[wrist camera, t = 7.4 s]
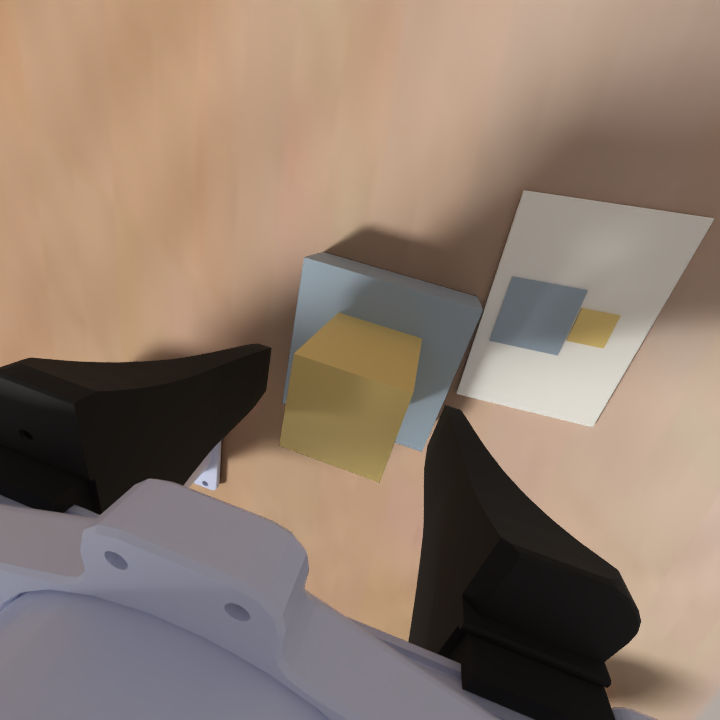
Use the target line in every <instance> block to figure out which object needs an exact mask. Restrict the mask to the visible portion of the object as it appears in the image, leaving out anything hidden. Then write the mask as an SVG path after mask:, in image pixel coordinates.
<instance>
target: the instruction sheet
mask: <svg viewBox="0 0 720 720" xmlns="http://www.w3.org/2000/svg"><path fill="white" fill-rule="evenodd" d="M714 219H715V218H709V217H702V216H696V215H689V214H682V213H675V212H668V211H662V210H655V209H648V208H641V207H635V206H628V205H621V204H614V203H608V202H601V201H594V200H587V199H580V198H574V197H567V196H560V195H553V194H547V193H540V192H533V191H526V190H523V193H522V196H521V199H520V202H519V205H518V208H517V211H516V214H515V217H514V220H513V223H512V226H511V229H510V232H509V235H508V238H507V241H506V244H505V247H504V250H503V253H502V256H501V259H500V262H499V265H498V268H497V271H496V274H495V277H494V280H493V283H492V286H491V289H490V292H489V295H488V298H487V301H486V304H485V307H484V311H483V314H482V317H481V320H480V323H479V326H478V329H477V332H476V335H475V338H474V341H473V344H472V347H471V350H470V353H469V356H468V359H467V362H466V365H465V368H464V371H463V374H462V377H461V380H460V383H459V386H458V389H457V392H456V393H457V394H459V395H463V396H467V397H471V398H475V399H479V400H483V401H487V402H491V403H495V404H499V405H504V406H508V407H512V408H516V409H520V410H524V411H528V412H532V413H536V414H540V415H545V416H549V417H553V418H557V419H561V420H565V421H569V422H573V423H577V424H581V425H586V426H590V427H593V426H594V424H595V422H596V421H597V419H598V417H599V415H600V414H601V412H602V410H603V409H604V407H605V405H606V404H607V402H608V400H609V398H610V397H611V395H612V393H613V392H614V390H615V388H616V386H617V385H618V383H619V381H620V380H621V378H622V376H623V374H624V373H625V371H626V369H627V368H628V366H629V364H630V362H631V361H632V359H633V357H634V356H635V354H636V352H637V350H638V349H639V347H640V345H641V344H642V342H643V340H644V339H645V337H646V335H647V333H648V332H649V330H650V328H651V327H652V325H653V323H654V321H655V320H656V318H657V316H658V315H659V313H660V311H661V309H662V308H663V306H664V304H665V303H666V301H667V299H668V297H669V296H670V294H671V292H672V291H673V289H674V287H675V285H676V284H677V282H678V280H679V279H680V277H681V275H682V274H683V272H684V270H685V268H686V267H687V265H688V263H689V262H690V260H691V258H692V256H693V255H694V253H695V251H696V250H697V248H698V246H699V244H700V243H701V241H702V239H703V238H704V236H705V234H706V232H707V231H708V229H709V227H710V226H711V224H712V222H713V221H714Z"/></svg>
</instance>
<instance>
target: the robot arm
mask: <svg viewBox="0 0 720 720" xmlns="http://www.w3.org/2000/svg"><path fill="white" fill-rule="evenodd" d="M270 355H271V348H270V347H267V346H264V345H261V344H258V343H257V344H249V345H244V346H239V347H235V348H230V349H226V350H221V351H217V352H212V353H207V354H201V355H196V356H190V357H185V358H178V359H169V360H160V361H145V362H120V363H112V362H77V361H64V360H52V359H40V358H27V359H23V360H20V361H18V362H15V363H12V364H9V365H6V366H3V367H0V720H657V719H655V718H652V717H650V716H647V715H645V714H642V713H640V712H637V711H635V710H632V709H628V708H625V707H613V708H611V706H610V703H609V700H608V697H607V694H606V691H605V689H604V687H606V688H608V687H609V686H610V685H611V679H610V676H609V673H608V671H607V668H606V665H605V663H604V662H605V661H606V660H607V659H609V658H610V657H611V656H613V655H614V654H615V653H616V652H618V651H619V650H620V649H622V648H623V647H624V646H625V645H627V644H628V643H629V642H630V641H631V640H632V639H633V638H634V637H635V635H636V634H637V633H638V630H639V627H640V623H641V619H640V614H639V610H638V608H637V606H636V604H635V602H634V600H633V598H632V596H631V594H630V592H629V590H628V588H627V586H626V585H625V583H624V581H623V579H622V577H621V575H620V573H619V571H618V570H617V569H616V568H615V567H613V566H612V565H610V564H609V563H608V562H606V561H605V560H604V559H602V558H601V557H599V556H598V555H597V554H595V553H594V552H593V551H591V550H590V549H588V548H587V547H586V546H584V545H583V544H582V543H580V542H579V541H578V540H576V539H575V538H574V537H573V536H571V535H570V534H569V533H568V532H567V531H565V530H564V529H563V528H562V527H560V526H559V525H558V524H557V523H556V522H554V521H553V520H552V519H551V518H550V517H549V516H548V515H546V514H545V513H544V512H543V511H542V510H541V509H540V508H539V507H538V506H537V505H536V504H535V503H534V502H532V501H531V500H530V499H529V498H528V497H527V496H526V495H525V494H524V493H523V492H522V491H521V490H520V489H519V488H518V486H517V485H516V484H515V483H514V482H513V481H512V480H511V479H510V478H509V477H508V475H507V474H506V473H505V472H504V471H503V470H502V468H501V467H500V466H499V465H498V463H497V462H496V461H495V459H494V458H493V457H492V456H491V454H490V453H489V451H488V450H487V449H486V447H485V446H484V444H483V443H482V441H481V440H480V439H479V437H478V435H477V434H476V432H475V431H474V429H473V428H472V426H471V425H470V423H469V421H468V420H467V418H466V417H465V415H464V414H463V412H462V411H461V410H459V409H456V408H453V407H450V406H446V405H445V407H444V409H443V412H442V414H441V416H440V418H439V421H438V423H437V425H436V428H435V430H434V432H433V434H432V437H431V439H430V441H429V444H428V447H427V453H426V460H425V467H424V528H423V540H422V548H421V557H420V565H419V573H418V581H417V588H416V595H415V602H414V609H413V616H412V623H411V629H410V635H409V641H408V642H407V641H404V640H402V639H400V638H397V637H395V636H392V635H390V634H387V633H385V632H383V631H380V630H378V629H375V628H373V627H370V626H368V625H366V624H363V623H361V622H358V621H356V620H353V619H351V618H349V617H346V616H344V615H343V614H341V613H340V612H338V611H337V610H335V609H334V608H332V607H331V606H329V605H328V604H326V603H324V602H323V601H321V600H320V599H318V598H317V597H315V596H314V595H312V594H311V593H309V592H308V591H306V590H305V583H306V579H307V576H308V572H309V565H308V557H307V552H306V550H305V548H304V547H303V546H302V545H301V543H300V542H299V541H298V540H297V538H296V537H295V536H294V535H293V533H292V532H291V531H289V530H287V529H285V528H284V527H282V526H280V525H279V524H277V523H275V522H274V521H272V520H270V519H267V518H265V517H262V516H259V515H257V514H254V513H252V512H249V511H247V510H244V509H241V508H239V507H236V506H234V505H231V504H229V503H226V502H223V501H221V500H218V499H216V498H213V497H211V496H208V495H206V494H203V493H200V492H198V491H195V490H193V489H190V488H189V487H190V486H191V485H192V484H193V483H195V484H197V485H200V486H203V487H205V488H208V489H210V490H216V489H217V488H218V487H219V482H220V461H221V440H222V439H223V438H224V437H225V436H226V435H227V434H228V433H229V432H230V431H231V430H232V429H233V428H234V427H235V426H236V425H237V424H238V423H239V422H240V421H241V420H242V419H243V418H244V417H245V416H246V415H247V414H248V413H249V412H250V411H251V410H252V409H253V407H254V406H255V405H256V404H257V402H258V401H259V400H260V398H261V397H262V395H263V394H264V392H265V391H266V388H267V380H268V372H269V363H270Z"/></svg>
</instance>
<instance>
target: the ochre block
mask: <svg viewBox="0 0 720 720" xmlns="http://www.w3.org/2000/svg"><path fill="white" fill-rule="evenodd" d="M421 343H422V338H419V337H416V336H412V335H409V334H406V333H403V332H400V331H396V330H393V329H390V328H387V327H384V326H380V325H377V324H374V323H371V322H368V321H364V320H361V319H358V318H355V317H352V316H348V315H345V314H342V313H339V312H338V313H337V314H336V315H335V316H334V317H333V318H332V319H331V320H330V321H329V322H328V323H327V324H325V325H324V326H323V327H322V328H321V329H320V330H319V331H318V332H317V333H316V334H315V335H314V336H312V337H311V338H310V339H309V340H308V341H307V342H306V343H305V344H304V345H303V346H302V347H300V348H299V349H298V350H297V351H296V352H295V353H294V356H293V362H292V368H291V375H290V381H289V387H288V393H287V399H286V406H285V412H284V418H283V424H282V431H281V437H280V443H279V446H281V447H284V448H287V449H289V450H292V451H295V452H297V453H300V454H303V455H306V456H308V457H311V458H314V459H317V460H319V461H322V462H325V463H327V464H330V465H333V466H336V467H338V468H341V469H344V470H346V471H349V472H352V473H355V474H357V475H360V476H363V477H366V478H368V479H371V480H374V481H376V482H379V483H380V480H381V478H382V475H383V472H384V470H385V467H386V464H387V462H388V459H389V456H390V454H391V451H392V448H393V446H394V443H395V440H396V438H397V435H398V433H399V430H400V427H401V425H402V422H403V419H404V417H405V414H406V411H407V409H408V406H409V403H410V401H411V398H412V395H413V392H414V386H415V380H416V374H417V367H418V361H419V355H420V349H421Z"/></svg>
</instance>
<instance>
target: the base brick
mask: <svg viewBox="0 0 720 720" xmlns="http://www.w3.org/2000/svg"><path fill="white" fill-rule="evenodd" d="M482 311H483V308H482V306H481V304H480V302H479V299H478V297H477V296H473V295H470V294H467V293H463V292H460V291H456V290H453V289H449V288H446V287H442V286H439V285H436V284H432V283H429V282H425V281H422V280H418V279H415V278H411V277H408V276H404V275H401V274H398V273H394V272H391V271H387V270H384V269H380V268H377V267H373V266H370V265H367V264H363V263H360V262H356V261H353V260H349V259H346V258H342V257H339V256H336V255H332V254H329V253H325V252H321V253H317V254H314V255H310V256H307V257H304V262H303V268H302V275H301V282H300V288H299V295H298V302H297V308H296V315H295V321H294V328H293V335H292V341H291V348H290V355H289V361H288V368H287V375H286V381H285V388H284V394H283V401H282V403H283V404H286V399H287V393H288V387H289V381H290V375H291V368H292V362H293V356H294V353H295V352H296V351H297V350H298V349H299V348H300V347H302V346H303V345H304V344H305V343H306V342H307V341H308V340H309V339H310V338H311V337H312V336H314V335H315V334H316V333H317V332H318V331H319V330H320V329H321V328H322V327H323V326H324V325H325V324H327V323H328V322H329V321H330V320H331V319H332V318H333V317H334V316H335V315H336V314H337V313H338V312H339V313H342V314H345V315H348V316H352V317H355V318H358V319H361V320H364V321H368V322H371V323H374V324H377V325H380V326H384V327H387V328H390V329H393V330H396V331H400V332H403V333H406V334H409V335H412V336H416V337H419V338H422V343H421V349H420V355H419V361H418V367H417V374H416V380H415V386H414V392H413V395H412V398H411V401H410V403H409V406H408V409H407V411H406V414H405V417H404V419H403V422H402V425H401V427H400V430H399V433H398V435H397V438H396V440H395V443H398V444H401V445H404V446H406V447H409V448H412V449H415V450H418V451H421V452H422V451H423V448H424V446H425V444H426V441H427V439H428V437H429V434H430V432H431V430H432V427H433V425H434V423H435V420H436V418H437V416H438V413H439V411H440V409H441V407H442V404H443V402H444V400H445V397H446V395H447V393H448V390H449V388H450V386H451V383H452V381H453V379H454V376H455V374H456V372H457V369H458V367H459V365H460V362H461V360H462V358H463V356H464V353H465V351H466V349H467V346H468V344H469V342H470V339H471V337H472V335H473V332H474V330H475V328H476V325H477V323H478V321H479V318H480V316H481V314H482Z"/></svg>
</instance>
